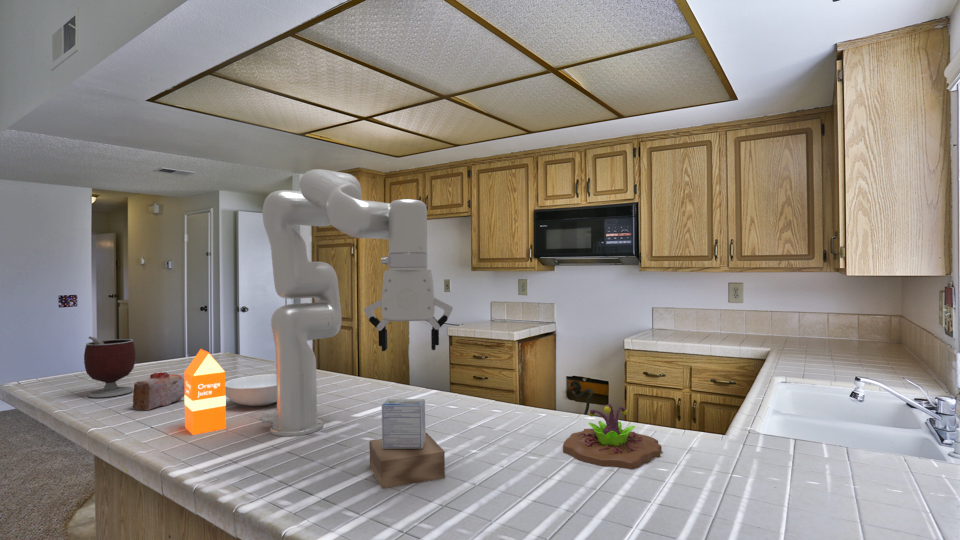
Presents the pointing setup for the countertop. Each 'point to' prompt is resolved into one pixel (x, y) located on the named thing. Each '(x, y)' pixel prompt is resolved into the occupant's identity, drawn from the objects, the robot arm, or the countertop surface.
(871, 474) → the countertop surface
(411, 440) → the medicine box
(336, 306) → the robot arm
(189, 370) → the orange juice
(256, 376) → the serving bowl
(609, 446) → the plant
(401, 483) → the walnut block
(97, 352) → the mate gourd
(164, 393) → the food item
